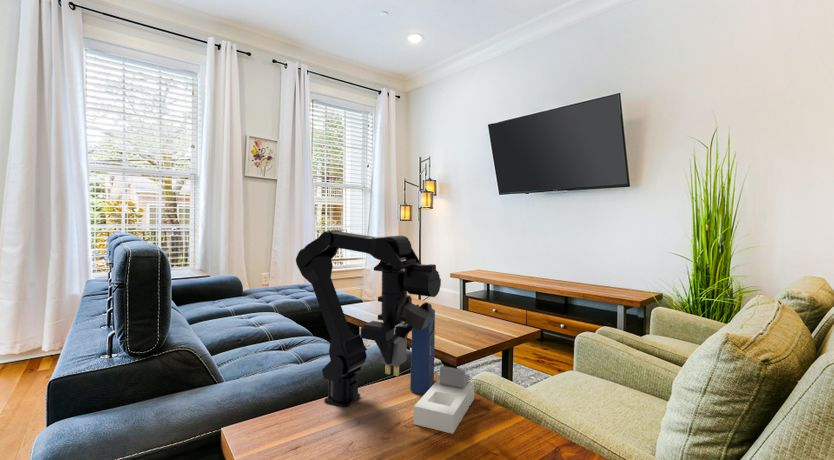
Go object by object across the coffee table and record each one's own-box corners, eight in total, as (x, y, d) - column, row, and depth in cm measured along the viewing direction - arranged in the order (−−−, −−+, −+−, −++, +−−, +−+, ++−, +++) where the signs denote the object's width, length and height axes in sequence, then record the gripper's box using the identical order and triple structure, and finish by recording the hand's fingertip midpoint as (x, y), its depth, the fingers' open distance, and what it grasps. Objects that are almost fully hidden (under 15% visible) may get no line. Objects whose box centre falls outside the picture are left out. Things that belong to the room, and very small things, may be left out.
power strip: (413, 424, 85) (413, 406, 85) (440, 391, 101) (440, 376, 101) (452, 433, 82) (453, 415, 82) (474, 398, 97) (474, 383, 97)
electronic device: (429, 394, 99) (430, 317, 98) (409, 392, 100) (410, 315, 99) (434, 379, 109) (436, 308, 108) (416, 377, 110) (417, 307, 109)
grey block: (439, 383, 96) (440, 367, 96) (447, 375, 101) (447, 359, 101) (463, 388, 94) (463, 371, 93) (469, 379, 99) (470, 363, 98)
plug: (380, 374, 87) (381, 340, 87) (390, 367, 91) (390, 335, 91) (397, 378, 85) (397, 343, 85) (406, 371, 89) (406, 338, 89)
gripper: (407, 304, 75) (406, 383, 76) (443, 288, 92) (442, 353, 93) (359, 298, 80) (358, 372, 81) (402, 284, 97) (401, 346, 98)
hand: (393, 360), depth 88 cm, fingers closed on plug, 4 cm apart
